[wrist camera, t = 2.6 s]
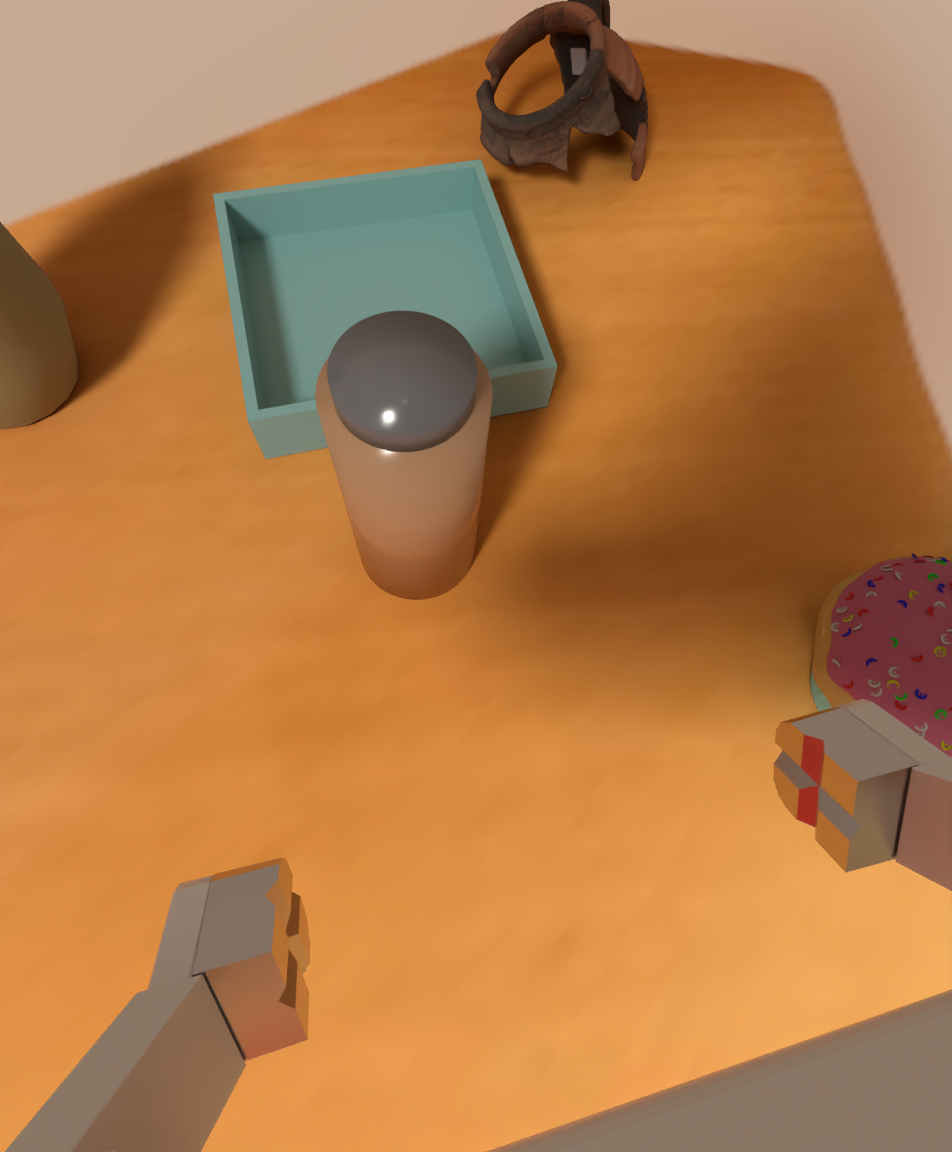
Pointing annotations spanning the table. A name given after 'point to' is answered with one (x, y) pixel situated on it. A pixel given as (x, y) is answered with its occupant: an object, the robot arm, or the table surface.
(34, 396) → the squeeze bottle
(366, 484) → the shaker
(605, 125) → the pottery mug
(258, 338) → the tray
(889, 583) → the cupcake
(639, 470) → the table surface
